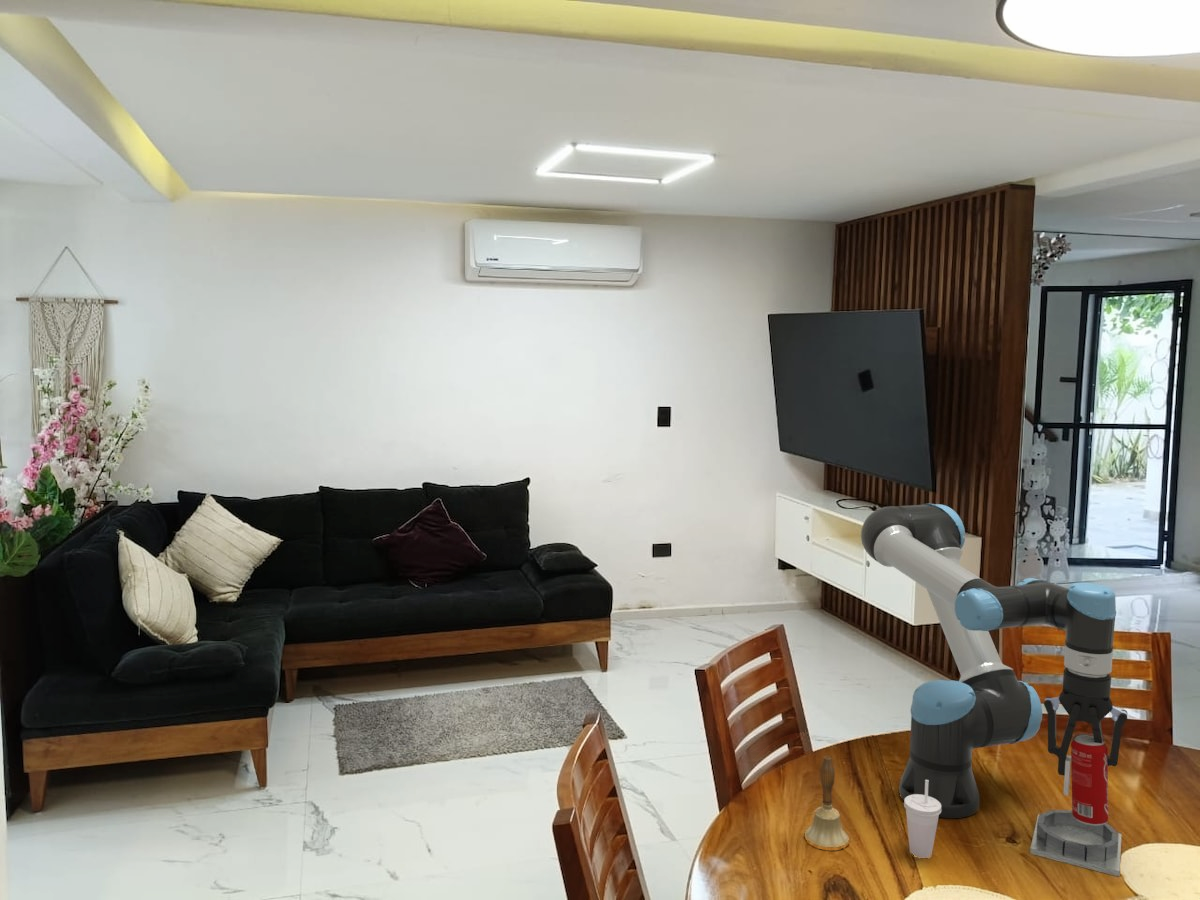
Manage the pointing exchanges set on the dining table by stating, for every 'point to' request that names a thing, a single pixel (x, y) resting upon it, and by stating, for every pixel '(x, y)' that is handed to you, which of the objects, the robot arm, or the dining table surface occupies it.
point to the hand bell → (827, 814)
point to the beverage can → (1089, 780)
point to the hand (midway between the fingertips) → (1079, 794)
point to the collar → (1077, 842)
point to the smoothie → (922, 822)
